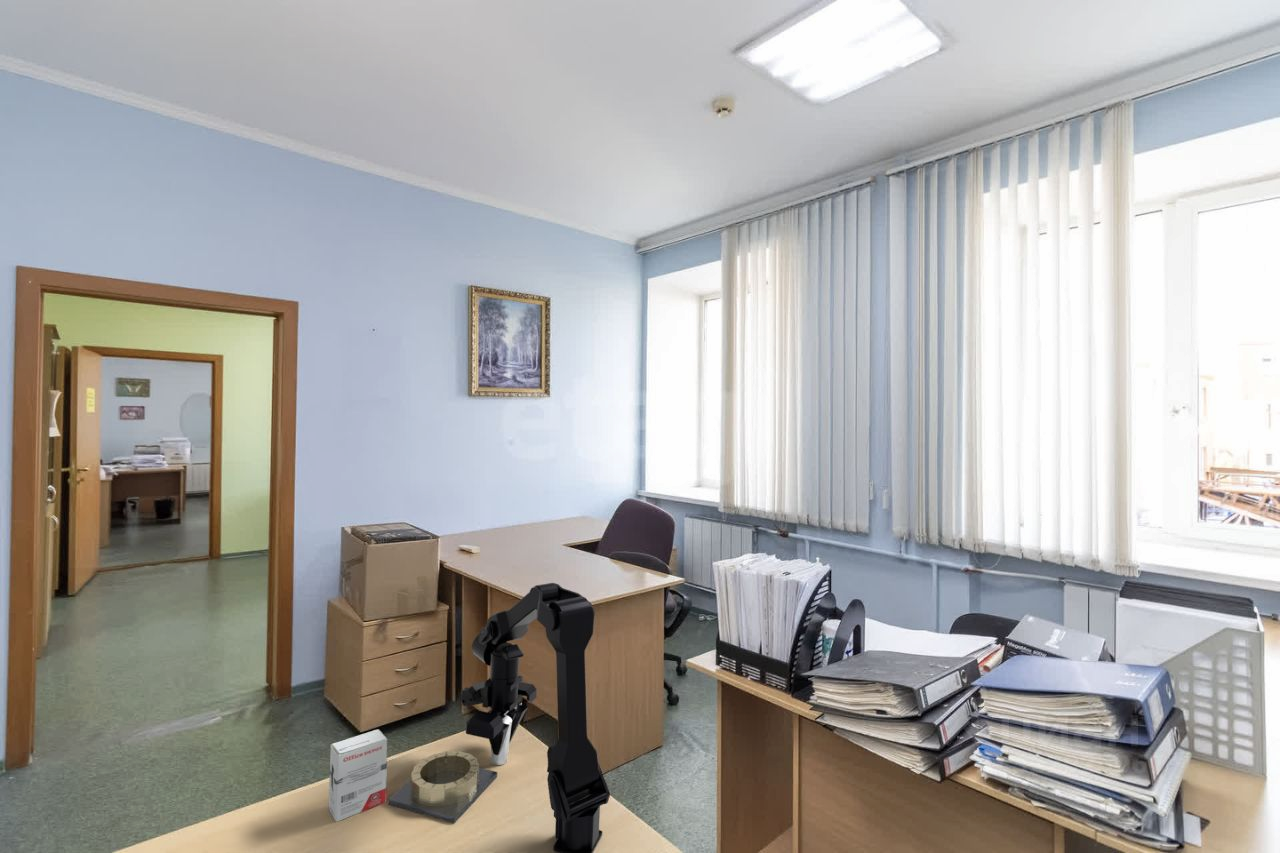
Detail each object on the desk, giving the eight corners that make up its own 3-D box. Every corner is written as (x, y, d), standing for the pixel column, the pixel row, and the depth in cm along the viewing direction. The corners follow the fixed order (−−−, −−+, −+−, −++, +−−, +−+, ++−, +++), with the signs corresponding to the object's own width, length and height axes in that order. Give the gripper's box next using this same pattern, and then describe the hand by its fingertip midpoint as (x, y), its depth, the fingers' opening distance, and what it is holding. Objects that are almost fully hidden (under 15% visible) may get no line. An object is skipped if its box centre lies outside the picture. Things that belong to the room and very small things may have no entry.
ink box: (377, 789, 109) (379, 726, 109) (386, 802, 106) (388, 738, 106) (327, 808, 104) (329, 742, 104) (335, 823, 100) (337, 754, 100)
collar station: (497, 777, 114) (497, 756, 114) (454, 823, 101) (455, 800, 101) (436, 762, 119) (437, 742, 119) (388, 804, 105) (388, 782, 105)
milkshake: (508, 769, 117) (510, 720, 117) (484, 765, 118) (486, 716, 118) (517, 757, 122) (519, 709, 121) (494, 753, 123) (495, 706, 123)
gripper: (494, 651, 131) (491, 720, 131) (443, 686, 113) (440, 766, 113) (538, 659, 128) (536, 729, 128) (493, 696, 110) (490, 778, 110)
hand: (501, 749), depth 120 cm, fingers closed on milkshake, 4 cm apart
